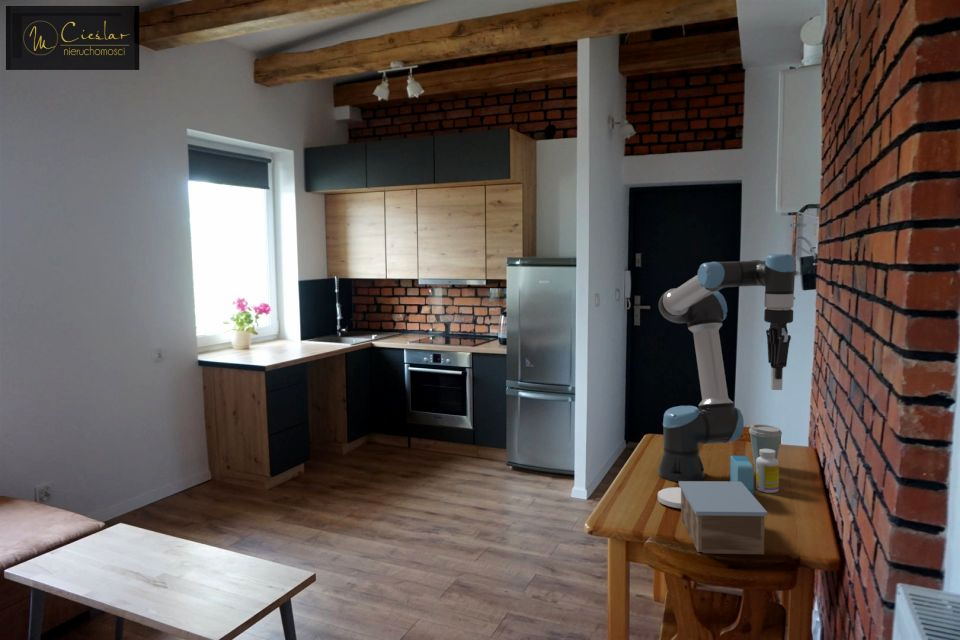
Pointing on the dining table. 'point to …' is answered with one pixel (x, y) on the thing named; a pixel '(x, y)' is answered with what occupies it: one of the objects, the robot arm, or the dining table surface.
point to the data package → (742, 471)
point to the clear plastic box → (723, 532)
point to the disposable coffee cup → (764, 439)
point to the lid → (721, 498)
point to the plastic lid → (670, 497)
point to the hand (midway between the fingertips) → (776, 389)
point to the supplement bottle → (767, 471)
